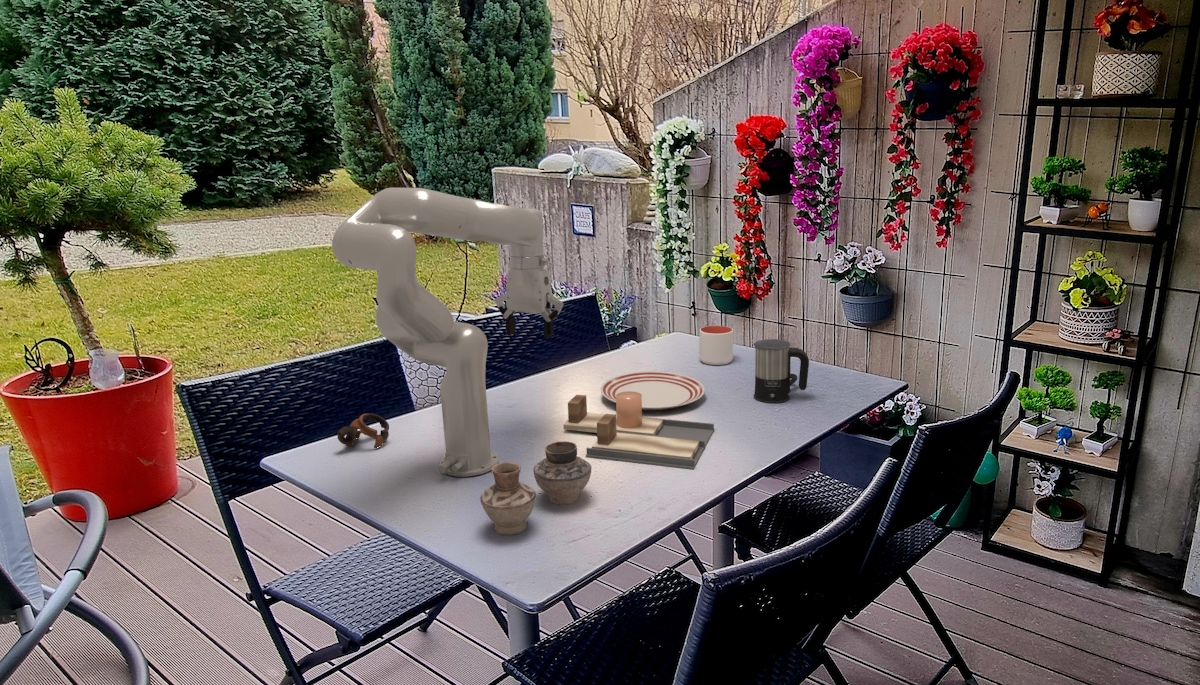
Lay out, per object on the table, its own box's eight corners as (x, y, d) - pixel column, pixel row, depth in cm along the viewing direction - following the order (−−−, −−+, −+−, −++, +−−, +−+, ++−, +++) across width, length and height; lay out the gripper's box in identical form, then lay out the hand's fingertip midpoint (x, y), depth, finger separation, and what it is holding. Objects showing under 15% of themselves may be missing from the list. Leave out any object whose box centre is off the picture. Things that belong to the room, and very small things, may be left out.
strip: (690, 462, 163) (690, 435, 162) (592, 451, 170) (591, 425, 169) (699, 446, 171) (699, 419, 170) (605, 436, 178) (604, 411, 177)
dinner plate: (726, 401, 201) (726, 389, 200) (642, 426, 187) (642, 413, 186) (660, 375, 223) (660, 364, 222) (581, 396, 209) (580, 384, 208)
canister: (638, 429, 179) (637, 401, 177) (613, 427, 181) (612, 398, 179) (645, 420, 184) (644, 392, 182) (621, 418, 186) (620, 390, 184)
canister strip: (653, 438, 176) (652, 413, 175) (563, 429, 183) (562, 404, 182) (663, 424, 184) (662, 399, 183) (577, 415, 192) (576, 392, 190)
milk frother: (759, 405, 197) (760, 349, 193) (740, 385, 212) (741, 333, 208) (812, 400, 199) (815, 345, 195) (790, 381, 214) (792, 330, 210)
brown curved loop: (365, 435, 187) (379, 408, 185) (387, 460, 183) (401, 433, 180) (323, 439, 177) (336, 411, 175) (344, 466, 173) (358, 437, 170)
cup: (698, 366, 230) (698, 333, 228) (700, 356, 240) (700, 325, 237) (732, 366, 229) (733, 334, 226) (732, 357, 238) (733, 325, 236)
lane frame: (693, 469, 162) (693, 461, 161) (585, 457, 169) (585, 449, 169) (714, 429, 182) (714, 422, 182) (617, 420, 190) (617, 413, 189)
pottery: (469, 529, 141) (464, 469, 137) (561, 480, 159) (558, 426, 156) (513, 549, 134) (509, 486, 130) (604, 494, 152) (602, 438, 149)
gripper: (568, 262, 177) (570, 335, 181) (502, 259, 183) (505, 329, 188) (554, 267, 170) (556, 342, 174) (485, 263, 177) (489, 336, 181)
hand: (529, 335), depth 181 cm, fingers open, 9 cm apart
